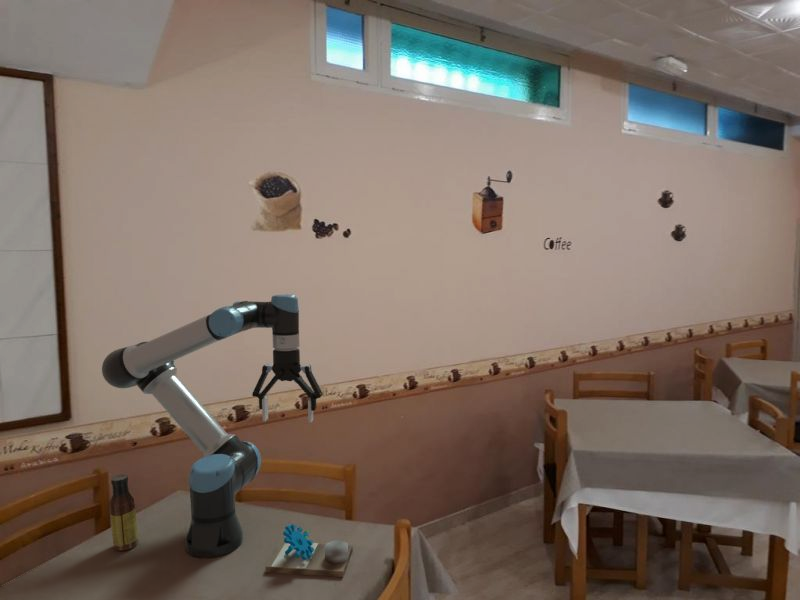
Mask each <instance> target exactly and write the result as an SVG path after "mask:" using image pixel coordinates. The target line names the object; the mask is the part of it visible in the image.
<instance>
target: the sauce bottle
mask: <svg viewBox="0 0 800 600" xmlns="http://www.w3.org/2000/svg"><path fill="white" fill-rule="evenodd" d="M110 481H111V485H112V496H111V498H110V500H109V511H110V512H109V515H110V526H111V536H112V537H111V538H112V544H113V547H114V549H115V550H116V551H118V552H119V551H120V552H121V551H129V550H131V549H133V548H135V547H136V546H137V545H138V544H139V531H138V523H137V522H138V521H137V514H136V513H137V512H136V505H135V499H134V497H133V495H132V494H131V493H130V491H129V485H128V484H129V483H128V481H129V478H128V475H127V474H117V475H115V476H113V477H111V479H110Z"/></svg>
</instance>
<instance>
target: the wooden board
mask: <svg viewBox="0 0 800 600" xmlns="http://www.w3.org/2000/svg"><path fill="white" fill-rule="evenodd" d="M290 545H291V544H289V543H285V542H284V541H280V542H279V543H278V546H276V549H275V550H274V552H273V553H272V555H271V557H270V559H269V560H268V562H267V563H266V565H265V566H264V567H265V573H272V574H286V575H287V574H288V575H301V576H302V575H305V576H320V577H335V578H344V576H345V573H346V570H347V567H348V565H349V562H350V559H351V556H352V555H353V551H354V550H353V548H354V547H353V545H349V543H347V542H346V541H344V540H339V539H338V540H337V539H335V540H332V541H331V540H330V541H329V542H327V543H318V542H313V544H312V545H311V547H313V548H314V551H313V552H312V555H313V556H312V557H310V558H307V559H306V560H303V559H302V558H301V556H302V555H303V554H302V553H301V552H300V554H301V555H300V556H299V557H298V558H297V557H296V556H295V555H294V554H295V553H296V552H297V550H292V551H291V552H290V553H289V554H288V555H286V554H285V551H286V550H287V549H288V547H289V546H290ZM306 555H307V553H306Z"/></svg>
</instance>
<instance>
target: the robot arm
mask: <svg viewBox="0 0 800 600" xmlns="http://www.w3.org/2000/svg"><path fill="white" fill-rule="evenodd" d="M299 314H300V309H299V300H298V297H297V295H294V294H288V293H287V294H286V293H285V294H275V295H274V294H273V295H272V296H271V300H270V301H252V300H251V301H248V300H242V301H235V302H233V304H232V305H231V306H230V305H229V306H223V307H220V308H218V309H216V310H213V312H212V313H210V314H208V315H205V316H203V317H200V318H198V319H196V320H194V321H192V322H190V323H187V324H185V325H183V326H181V327H178V328H176V329H174V330H172V331H169V332H167V333H165V334H163V335H160V336H158V337H156V338H153V339H151V340H149V341H142V342H138V343H137V344H133V345H129V346H125V347H122V348H118V349H115V350H113V351H112V352H110V353H109V354H108V355H107V356H106V357H105V358H104V360H103V362H102V364H101V373H102V377H103V379H104V380H105V382H107V384H109V385H110V386H112V387H114V388H117V389H129V388H132V387H135V386H137V387H138V388H139V389H140V391H141V392H142V393H143V394H144V395H152V396H153V397H154V398H155V400H157V402H158V403H159V404H160V405H161V406H162V408H164V410H165V411H166V412H167V413H168V414H169V416H170V417H171V418H172V419H173V420H174V421H175V422H176V423H177V425H178V426H179V427H180V428H181V429H182V430H183V432H184V433H185V434H186V435H187V436H188V437H189V438H190V439H191V440H192V442H193V443H194V444H195V445H196V446H197V448H198V449H199V450H201V452H202V454H203V457H201V458H200V459H197V460H196V461H195V462H194V463H193V464H192V466H191V467H190V469H189V479H188V484H189V496H190V513H191V516H190V517H191V518H190V519H191V520H190V524H189V526H188V530H187V533H186V537H185V550H186V552H187V554H189V556H190V555H191V556H192V557H196V558H205V559H207V558H215V557H221V556H223V555H226V554H229V553H231V552H233V551H235V550H236V549H238V548H239V547H240V546H241V544H242V543H243V541H244V535H243V534H244V531H243V529H242V528H243V527H242V525H241V523H240V521H239V518H238V515H237V514H236V513H237V512H236V494H237V493H238V492H239V491H241V490H242V489H243V488H244V487H246V485H248V484H249V483H250V482H251V481H252V480H253V479H254V478H255V476H257V474H258V473H259V471H260V469H261V465H262V458H261V453H260V451H259V448H258V447H257V446H256V445H255V444H254V443H253V442H250V441H245V440H241V439H240V438H239V437H238V436H237V435H236V434H234V433H232V434H231V433H228V432H226V429H224V428H223V427H222V425H220V423H219V422H217V421H218V420H216V419H215V418H214V417H213V416H212V415H211V413H210V412H209V411H208V410H207V409H206V407H205V406H204V405H203V404H202V403H201V402H200V401H199V399H197V397H196V396H195V395H194V394H193V393H192V391H191V390H190V389H189V388H188V387H187V386H186V384H184V383H183V381H182V380H181V379H180V378H179V377H178V375H177V372H178V369H177V367H176V365H175V361H177V360H178V359H180V358H182V357H185V356H187V355H190V354H192V353H194V352H196V351H199V350H200V349H203V348H205V347H208V346H211V345H213V344H214V343H217V342H220V341H222V340H224V339H227V338H229V337H231V336H233V335H236V334H240V333H242V332H245V331H248V330H251V329H254V328H255V329H258V328H260V329H262V328H264V329H265V328H267V329H270V328H271V331H272V334H271V335H272V348H273V351H272V360H273V361H272V363H273V364H272V365H271V364H269V363H266V364H264V365H263V366H262V368H261V374H260V376H259V379H258V381H257V383H256V385H255V387H254V388H253V391H252V393H251V395H252V397H254V398H255V397H256V398H258V408H259V410H261V411H262V412H261V413H262V422H266V421H267V420H269V401H268V400H269V399H268V398H269V396H267V394H268V393H269V391H270V390H271V389H272V388H273V387H274V386H275V384H276V383H277V382H278V381H281V382H286V381H287V382H292V381H293V382H294V383H295V384H297V385H298V387H299V388H301V390H302V391H303V392H304V393H305V394H306V395H307V397H308V400H307V415H308V416H307V418H308V419H307V420H308V421H307V423H309V424H311V423H312V422H313V421H314V412H315V411H316V410H317V399H320V398H321V397H322V396H323V394H324V393H323V392H322V389H321V388H320V385H319V383H318V382H317V380H316V378H315V376H314V374H313V371H312V365H311V364H307V365H301V361H300V359H301V358H300V357H301V355H300V349H299V347H300V327H299V326H300V321H299V320H300V315H299ZM271 371H272V372H273V374H274V375H273V377H272V378H271V380H270V381H269V382H268V383H267V385H266V386H265V387H264V388H263V386H264V384H265V381H266V380H267V376H268V375H269V373H270V372H271ZM301 372H302V373H304V374H305V377H306V379H307V381H308V383H309V384H308V383H307V381H305V380H304V379H303V376H302V375H301V374H300V373H301ZM262 388H263V389H262ZM261 390H262V391H261Z"/></svg>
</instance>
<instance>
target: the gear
mask: <svg viewBox="0 0 800 600" xmlns="http://www.w3.org/2000/svg"><path fill="white" fill-rule="evenodd" d="M296 528H297V529H296ZM284 529H285V530H283V532H282V535H283V536H285V537H284V538H283V539H284V540H283V542H285V543H289V544H291V545H290V546H289V547H288V549H287V550H286V551H285V554H286V555H288V554H289V553H290V552H291V551H292V550H297V552H296V553H295V554H294V555H295V556H296V557H297V558H298V557H299V556H300V555H301V554H300V552H301V553H302V554H303V555H302V556H301V558H302V559H303V560H306V559H307V558H310V557H312V556H313V555H312V552H313V551H314V548H313V547H311V545H312V544H313V543H314V542H313V540H312V539H309V533H310V531H309V530H308V529H305V531H304V529H303V527H301V525H299V526H298V527H297V525H296V524H294V523H292V524H291V525H290V524H288V525H286V526H285V528H284ZM306 553H307V555H306Z"/></svg>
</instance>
